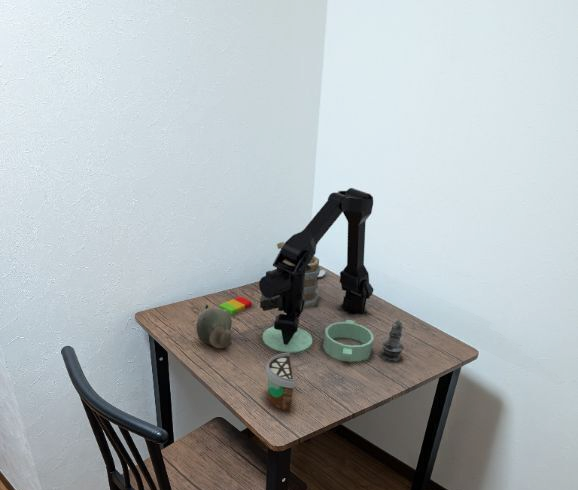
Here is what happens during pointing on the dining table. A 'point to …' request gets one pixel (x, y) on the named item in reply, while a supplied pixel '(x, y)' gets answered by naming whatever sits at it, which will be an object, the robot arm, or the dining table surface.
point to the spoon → (321, 273)
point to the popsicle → (235, 305)
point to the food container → (280, 382)
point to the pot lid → (296, 344)
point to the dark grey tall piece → (393, 343)
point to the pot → (348, 351)
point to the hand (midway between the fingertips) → (287, 337)
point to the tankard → (309, 280)
